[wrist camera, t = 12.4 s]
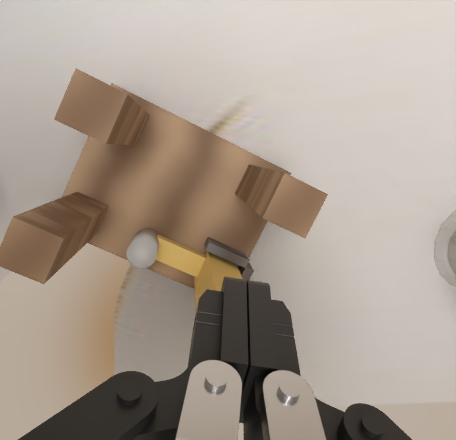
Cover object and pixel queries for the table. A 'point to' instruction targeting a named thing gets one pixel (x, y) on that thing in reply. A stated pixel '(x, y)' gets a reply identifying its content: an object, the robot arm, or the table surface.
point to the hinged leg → (181, 260)
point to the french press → (447, 250)
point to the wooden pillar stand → (154, 189)
